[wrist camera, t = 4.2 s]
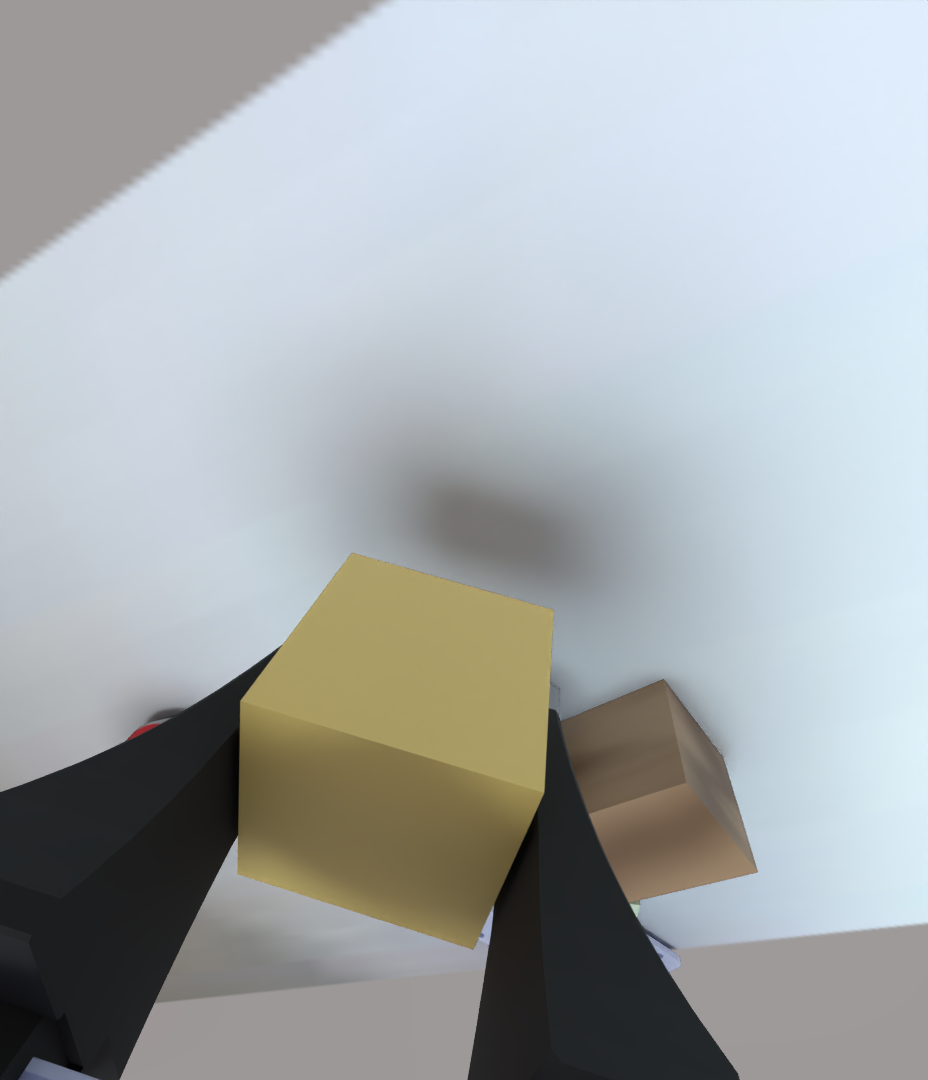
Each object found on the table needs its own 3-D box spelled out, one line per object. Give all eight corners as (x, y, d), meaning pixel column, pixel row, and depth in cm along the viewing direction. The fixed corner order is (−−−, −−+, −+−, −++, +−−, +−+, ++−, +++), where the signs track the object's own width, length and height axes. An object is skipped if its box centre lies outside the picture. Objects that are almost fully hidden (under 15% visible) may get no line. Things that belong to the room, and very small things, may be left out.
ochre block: (553, 610, 13) (544, 792, 8) (501, 750, 15) (473, 949, 11) (351, 552, 13) (240, 701, 9) (332, 699, 15) (237, 874, 11)
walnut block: (722, 756, 23) (758, 872, 19) (619, 791, 25) (629, 902, 21) (663, 677, 22) (686, 782, 17) (558, 720, 24) (556, 824, 20)
